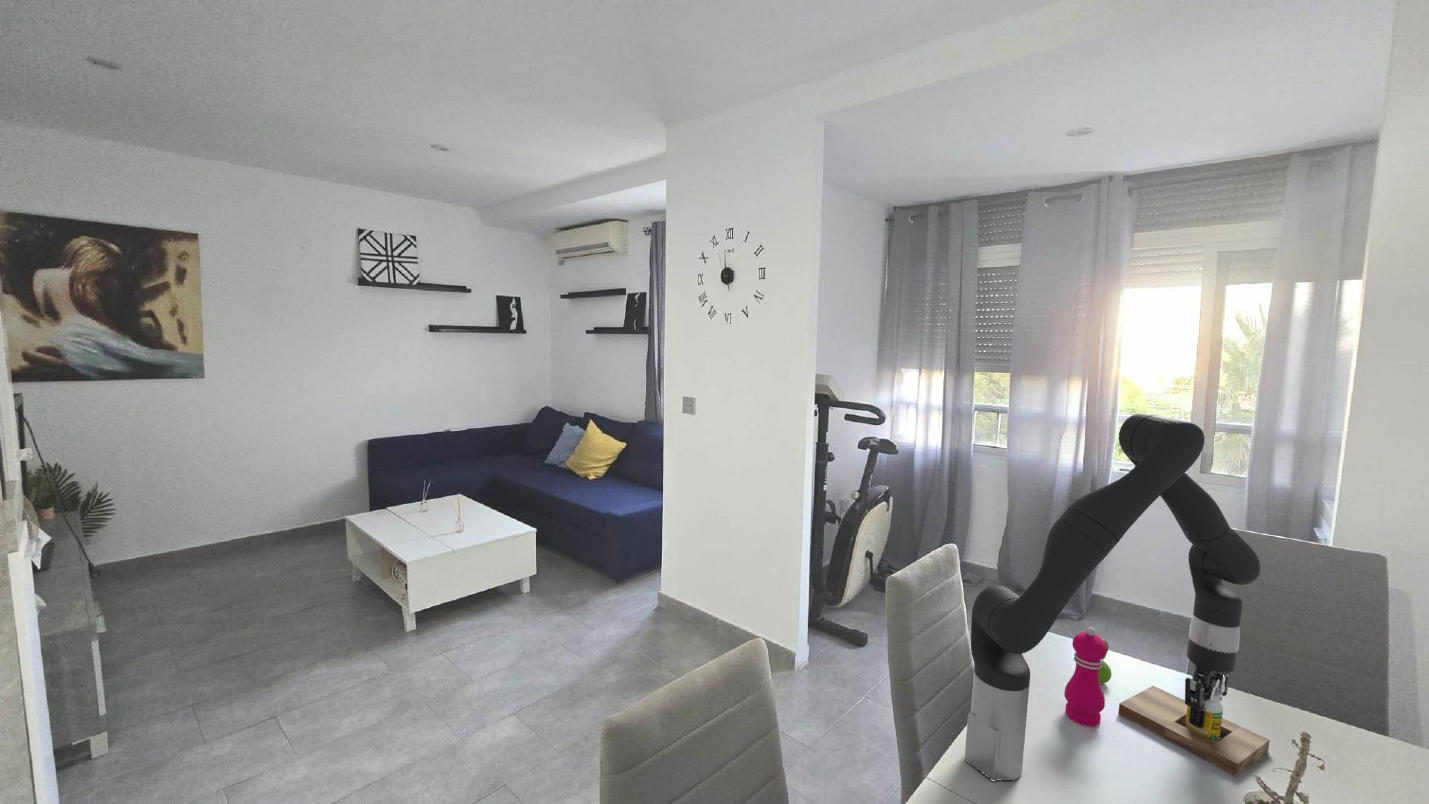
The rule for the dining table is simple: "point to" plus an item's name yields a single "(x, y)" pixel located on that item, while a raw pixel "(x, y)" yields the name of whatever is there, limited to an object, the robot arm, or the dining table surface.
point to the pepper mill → (1086, 680)
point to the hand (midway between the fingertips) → (1203, 720)
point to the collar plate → (1169, 720)
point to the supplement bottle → (1209, 719)
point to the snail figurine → (1104, 669)
